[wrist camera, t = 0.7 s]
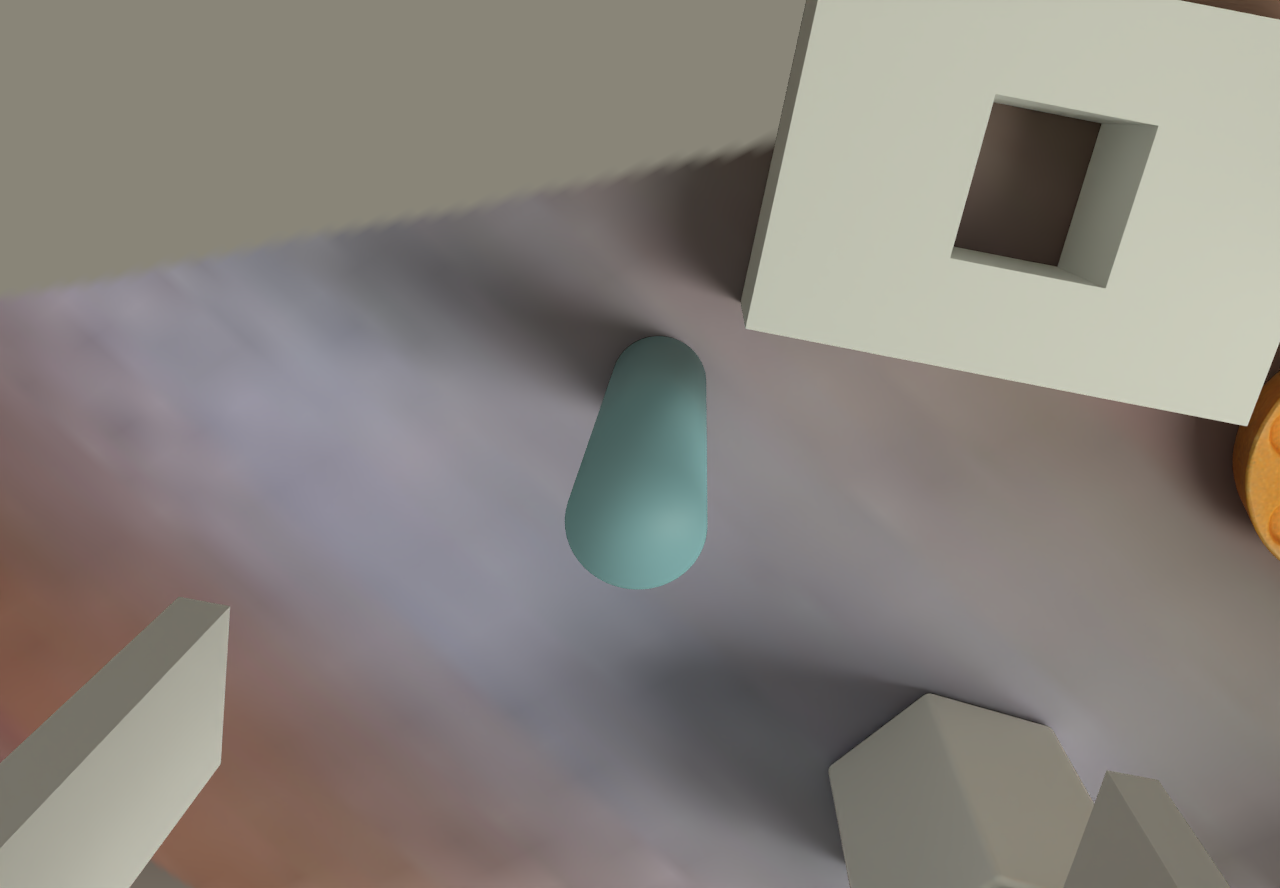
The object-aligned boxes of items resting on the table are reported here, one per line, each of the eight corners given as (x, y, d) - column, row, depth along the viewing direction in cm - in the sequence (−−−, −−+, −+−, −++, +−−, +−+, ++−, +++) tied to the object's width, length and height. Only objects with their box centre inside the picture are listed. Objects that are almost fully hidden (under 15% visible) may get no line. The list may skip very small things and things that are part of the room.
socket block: (740, 302, 33) (745, 328, 29) (816, -46, 29) (832, -68, 26) (1183, 389, 33) (1247, 426, 29) (1305, 50, 29) (1395, 42, 26)
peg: (604, 417, 34) (554, 574, 23) (620, 327, 33) (577, 444, 22) (695, 435, 34) (691, 601, 23) (714, 345, 33) (720, 472, 22)
